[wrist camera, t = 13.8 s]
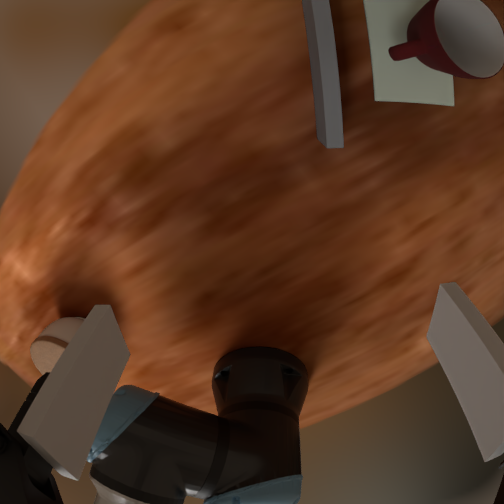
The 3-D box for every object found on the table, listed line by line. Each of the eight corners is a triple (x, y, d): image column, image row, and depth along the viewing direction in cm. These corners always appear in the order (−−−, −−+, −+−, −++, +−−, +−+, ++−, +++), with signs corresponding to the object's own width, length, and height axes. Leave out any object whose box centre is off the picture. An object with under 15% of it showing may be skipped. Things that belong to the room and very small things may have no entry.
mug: (398, 99, 28) (444, 104, 19) (357, 34, 25) (391, 14, 17) (464, 63, 25) (518, 62, 16) (428, 2, 22) (476, -18, 13)
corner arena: (475, 141, 29) (504, 152, 24) (317, 138, 31) (326, 148, 26) (457, -28, 19) (483, -40, 14) (292, -51, 21) (296, -75, 16)
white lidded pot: (122, 367, 50) (101, 416, 40) (63, 348, 50) (37, 391, 40) (116, 314, 44) (86, 366, 34) (49, 294, 44) (14, 338, 34)
